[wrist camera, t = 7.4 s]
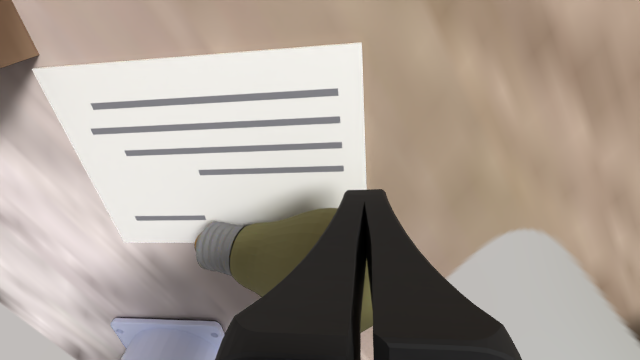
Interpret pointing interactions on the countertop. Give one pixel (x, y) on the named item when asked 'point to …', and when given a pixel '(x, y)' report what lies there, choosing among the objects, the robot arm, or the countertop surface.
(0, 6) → the walnut block
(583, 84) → the countertop surface
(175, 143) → the letter
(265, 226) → the light bulb
